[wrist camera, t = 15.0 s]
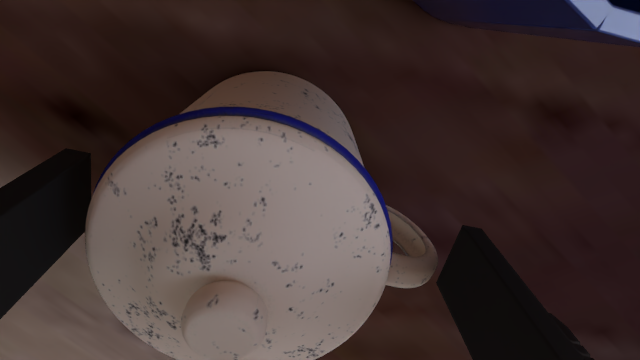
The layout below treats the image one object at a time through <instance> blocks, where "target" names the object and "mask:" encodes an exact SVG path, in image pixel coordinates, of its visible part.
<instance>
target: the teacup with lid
mask: <svg viewBox="0 0 640 360" xmlns="http://www.w3.org/2000/svg"><path fill="white" fill-rule="evenodd" d="M393 241H394V242H395V243H396V244H397V245H398V246H399V247H400V248H401V249H402V250H403V251H404V252H405V254H406V255H407V256H404V255H400V254H396V253H393V252H392V250H393ZM85 245H86V254H87V259H88V265H89V268H90V271H91V275H92V277H93V280H94V282H95V284H96V287H97V289H98V291H99V292H100V294H101V296H102V298H103V299H104V301H105V302H106V304H107V305H108V307H109V308H110V310H111V311H112V312H113V313H114V314H115V316H116V317H117V318H118V319H119V320H120V321H121V322H122V323H123V324H124V325H125V326H126V327H127V328H128V329H129V330H130V331H131V332H132V333H134V334H135V335H136V336H137V337H138V338H140V339H141V340H143V341H144V342H145V343H147V344H148V345H150V346H152V347H153V348H155V349H157V350H158V351H160V352H162V353H164V354H166V355H168V356H170V357H172V358H175V359H177V360H315V359H317V358H319V357H321V356H323V355H325V354H327V353H328V352H330V351H331V350H333V349H335V348H336V347H338V346H339V345H341V344H342V343H343V342H345V341H346V340H347V339H348V338H349V337H351V336H352V335H353V334H354V333H355V332H356V331H357V330H358V329H359V328H360V327H361V326H362V325H363V323H364V322H365V321H366V319H367V318H368V317H369V315H370V314H371V313H372V311H373V309H374V308H375V306H376V304H377V303H378V301H379V299H380V297H381V295H382V292H383V290H384V287H385V285H389V286H394V287H399V288H414V287H418V286H421V285H423V284H424V283H426V282H427V281H428V280H429V279H430V278H431V276H432V275H433V273H434V271H435V270H436V267H437V264H438V257H437V253H436V250H435V248H434V246H433V244H432V243H431V241H430V240H429V239H428V237H427V236H426V235H425V234H424V233H423V232H422V231H421V230H420V228H419V227H417V226H416V225H415V224H414V223H413V222H412V221H411V220H409V219H408V218H407V217H405V216H404V215H402V214H401V213H399V212H398V211H396V210H394V209H393V208H391V207H389V206H387V205H385V202H384V200H383V197H382V195H381V193H380V191H379V189H378V187H377V185H376V183H375V182H374V180H373V179H372V177H371V176H370V174H369V173H368V171H367V170H366V169H365V168H364V165H363V162H362V159H361V156H360V154H359V151H358V148H357V145H356V142H355V139H354V136H353V133H352V130H351V128H350V125H349V123H348V121H347V119H346V117H345V115H344V114H343V112H342V111H341V109H340V108H339V107H338V106H337V104H336V103H335V102H334V101H333V100H332V99H331V98H330V97H329V96H328V95H327V94H326V93H324V92H323V91H322V90H321V89H319V88H318V87H316V86H315V85H313V84H311V83H310V82H308V81H306V80H304V79H301V78H299V77H296V76H293V75H290V74H286V73H281V72H273V71H257V72H249V73H244V74H240V75H237V76H234V77H231V78H229V79H227V80H224V81H223V82H221V83H219V84H217V85H216V86H214V87H213V88H212V89H210V90H209V91H208V92H206V93H205V94H204V95H203V96H201V97H200V98H199V99H198V100H196V101H195V102H194V103H193V104H191V105H190V106H189V107H188V108H186V109H185V110H184V111H182V112H181V113H180V114H179V115H176V116H173V117H170V118H168V119H165V120H163V121H161V122H158V123H156V124H154V125H153V126H151V127H149V128H147V129H146V130H144V131H142V132H141V133H140V134H138V135H137V136H135V137H134V138H133V139H131V140H130V141H129V142H128V143H127V144H126V145H125V146H124V147H122V148H121V149H120V150H119V151H118V152H117V154H116V155H115V156H114V157H113V158H112V160H111V161H110V162H109V163H108V165H107V166H106V168H105V169H104V171H103V173H102V174H101V176H100V178H99V180H98V182H97V184H96V186H95V189H94V192H93V195H92V198H91V202H90V205H89V208H88V212H87V218H86V226H85Z"/></svg>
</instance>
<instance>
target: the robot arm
mask: <svg viewBox="0 0 640 360" xmlns="http://www.w3.org/2000/svg"><path fill="white" fill-rule="evenodd" d="M90 202H91V153H87V152H82V151H77V150H72V149H67V148H66V149H64V150H62V151H61V152H59V153H57V154H56V155H54V156H52V157H51V158H49V159H47V160H46V161H44V162H42V163H41V164H39V165H38V166H36V167H34V168H33V169H31V170H29V171H28V172H26V173H24V174H23V175H21V176H19V177H18V178H16V179H14V180H13V181H11V182H9V183H8V184H6V185H5V186H3V187H1V188H0V319H1V318H2V317H3V316H4V315H5V314H6V313H7V312H8V311H9V310H10V309H11V307H12V306H13V305H14V304H15V303H16V302H17V301H18V300H19V299H20V298H21V297H22V296H23V295H24V294H25V293H26V292H27V291H28V290H29V289H30V288H31V287H32V286H33V285H34V284H35V283H36V282H37V280H38V279H39V278H40V277H41V276H42V275H43V274H44V273H45V272H46V271H47V270H48V269H49V268H50V267H51V266H52V265H53V264H54V263H55V262H56V261H57V260H58V259H59V258H60V257H61V256H62V255H63V253H64V252H65V251H66V250H67V249H68V248H69V247H70V246H71V245H72V244H73V243H74V242H75V241H76V240H77V239H78V238H79V237H80V236H81V235H82V234H83V233H84V232H85V226H86V218H87V212H88V208H89V205H90ZM436 283H437V286H438V288H439V290H440V292H441V294H442V296H443V298H444V300H445V302H446V304H447V306H448V309H449V311H450V313H451V315H452V317H453V319H454V321H455V323H456V325H457V327H458V329H459V332H460V334H461V336H462V338H463V340H464V342H465V344H466V346H467V348H468V350H469V352H470V355H471V357H472V359H473V360H594V359H593V358H590V354H589V353H588V352H587V350H586V349H585V348H584V347H583V346H581V345H580V342H579V341H578V339H577V338H576V337H575V336H574V335H573V333H572V332H571V331H570V330H569V328H568V327H567V326H565V325H564V324H563V323H562V322H561V321H559V320H558V319H557V318H556V317H555V316H553V315H552V314H551V313H548V312H547V311H546V309H545V308H544V307H543V306H542V304H541V303H540V302H539V301H538V299H537V298H536V297H535V296H534V294H533V293H532V292H531V291H530V289H529V288H528V287H527V286H526V284H525V283H524V282H523V280H522V279H521V278H520V277H519V275H518V274H517V273H516V272H515V270H514V269H513V268H512V267H511V265H510V264H509V263H508V262H507V260H506V259H505V258H504V257H503V255H502V254H501V253H500V252H499V250H498V249H497V248H496V247H495V245H494V244H493V243H492V241H491V240H490V239H489V238H488V236H487V235H486V234H485V233H484V231H483V230H482V229H480V228H475V227H469V226H464V225H462V228H461V230H460V232H459V234H458V236H457V239H456V241H455V243H454V245H453V247H452V249H451V252H450V254H449V256H448V258H447V260H446V263H445V265H444V267H443V269H442V271H441V274H440V276H439V278H438V280H437V282H436Z"/></svg>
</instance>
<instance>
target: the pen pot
mask: <svg viewBox="0 0 640 360" xmlns="http://www.w3.org/2000/svg"><path fill="white" fill-rule="evenodd" d="M413 1H414V2H415V3H416V4H417V5H418V6H419V7H420V8H422V9H423V10H424V11H426V12H427V13H428V14H430V15H431V16H433V17H435V18H437V19H439V20H442V21H444V22H447V23H450V24H456V25H461V26H464V27H468V28H474V29H483V30H492V31H501V32H509V33H518V34H527V35H536V36H545V37H554V38H562V39H571V40H580V41H589V42H598V43H606V44H615V45H624V46H633V47H640V0H413Z"/></svg>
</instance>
